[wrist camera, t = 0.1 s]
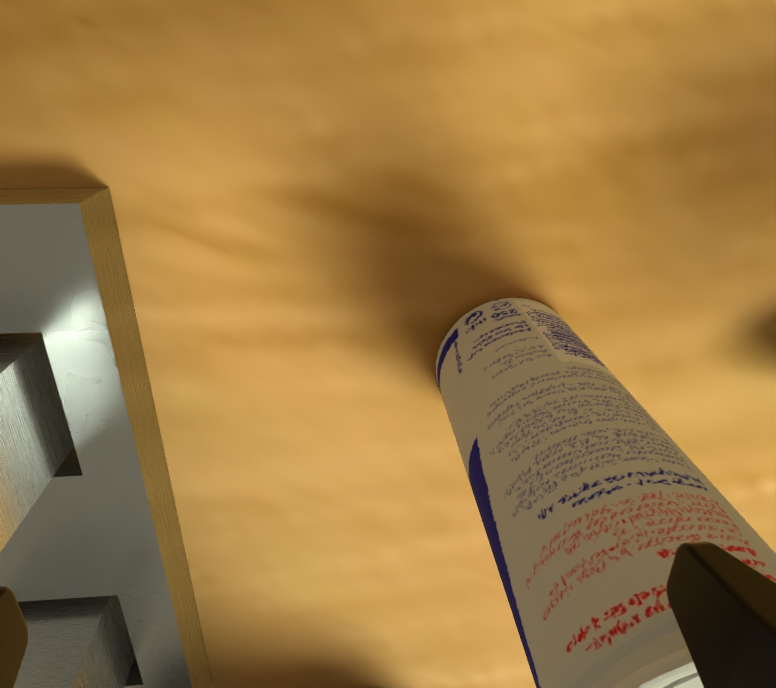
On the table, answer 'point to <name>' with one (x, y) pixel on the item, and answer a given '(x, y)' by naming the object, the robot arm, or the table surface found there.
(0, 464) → the nut
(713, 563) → the robot arm
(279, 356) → the table surface
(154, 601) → the grey socket board
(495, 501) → the beverage can
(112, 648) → the nut
